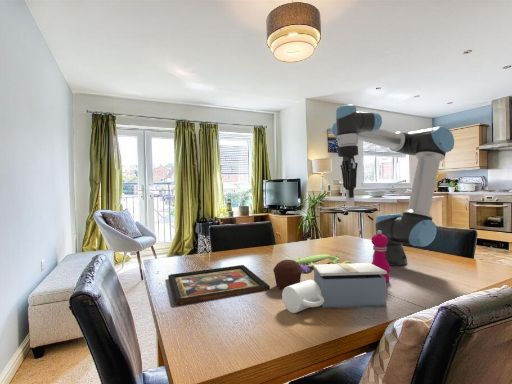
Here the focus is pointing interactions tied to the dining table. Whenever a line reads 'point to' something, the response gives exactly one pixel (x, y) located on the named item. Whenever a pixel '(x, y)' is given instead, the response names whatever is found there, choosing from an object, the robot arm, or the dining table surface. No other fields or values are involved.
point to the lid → (348, 269)
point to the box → (352, 290)
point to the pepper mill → (380, 253)
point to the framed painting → (214, 284)
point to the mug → (302, 296)
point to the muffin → (287, 273)
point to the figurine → (315, 259)
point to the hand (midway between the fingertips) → (350, 205)
